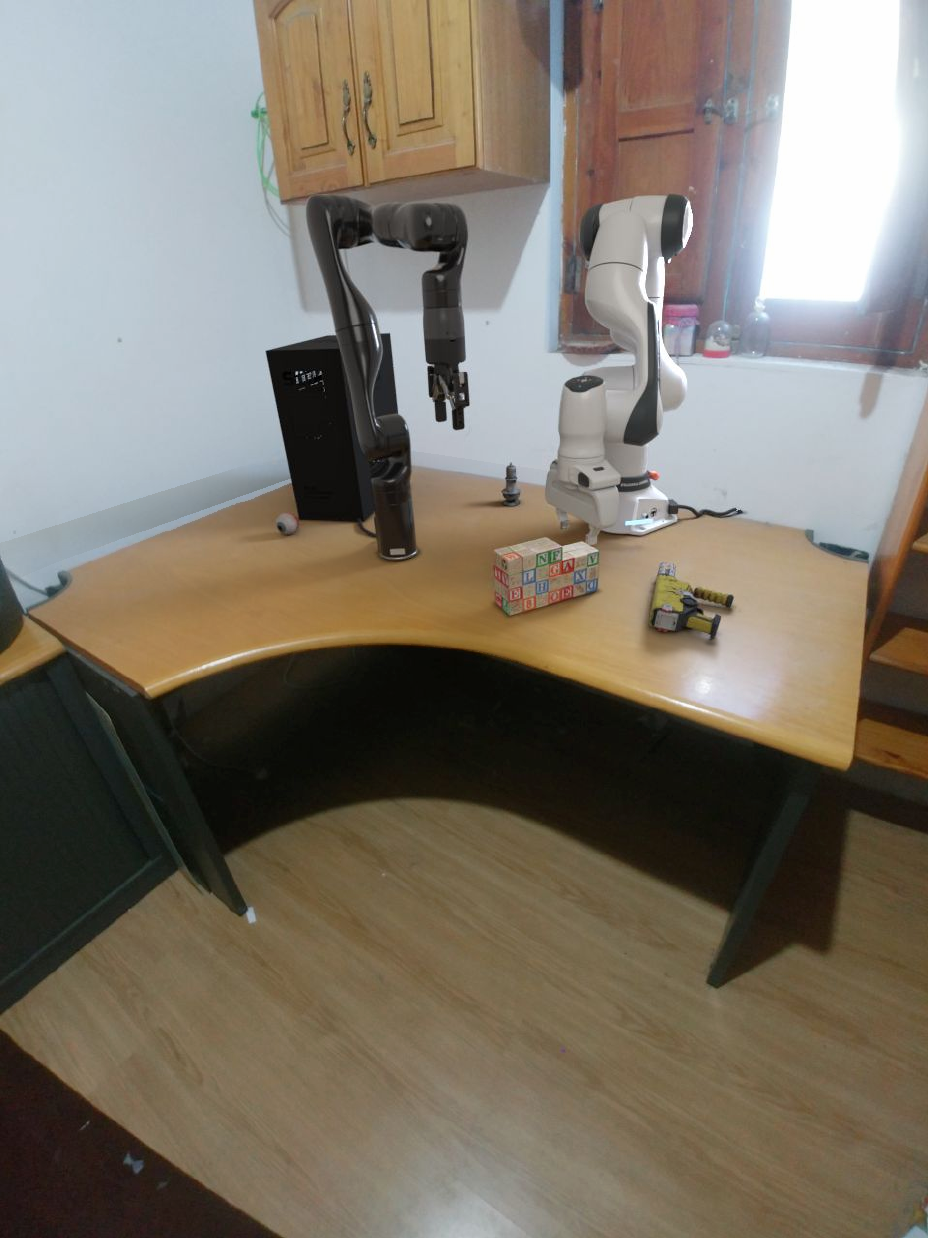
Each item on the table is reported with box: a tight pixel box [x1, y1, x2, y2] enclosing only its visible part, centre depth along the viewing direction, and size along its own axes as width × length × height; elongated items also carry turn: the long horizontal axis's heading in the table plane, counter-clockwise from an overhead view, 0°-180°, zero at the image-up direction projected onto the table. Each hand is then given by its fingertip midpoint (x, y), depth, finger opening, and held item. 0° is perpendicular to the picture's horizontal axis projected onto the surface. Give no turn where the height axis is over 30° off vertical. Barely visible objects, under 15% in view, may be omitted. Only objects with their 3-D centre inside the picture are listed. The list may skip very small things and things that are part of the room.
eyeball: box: [275, 511, 300, 536], centre depth 163 cm, size 6×6×6 cm
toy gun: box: [648, 561, 735, 640], centre depth 118 cm, size 5×24×15 cm
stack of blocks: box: [493, 536, 600, 616], centre depth 123 cm, size 21×6×12 cm, turn 115°
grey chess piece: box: [501, 462, 522, 507], centre depth 175 cm, size 6×6×12 cm
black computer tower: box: [265, 332, 399, 522], centre depth 177 cm, size 38×20×45 cm, turn 167°
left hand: (449, 425), depth 118 cm, fingers open, 8 cm apart
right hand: (577, 535), depth 122 cm, fingers open, 8 cm apart
